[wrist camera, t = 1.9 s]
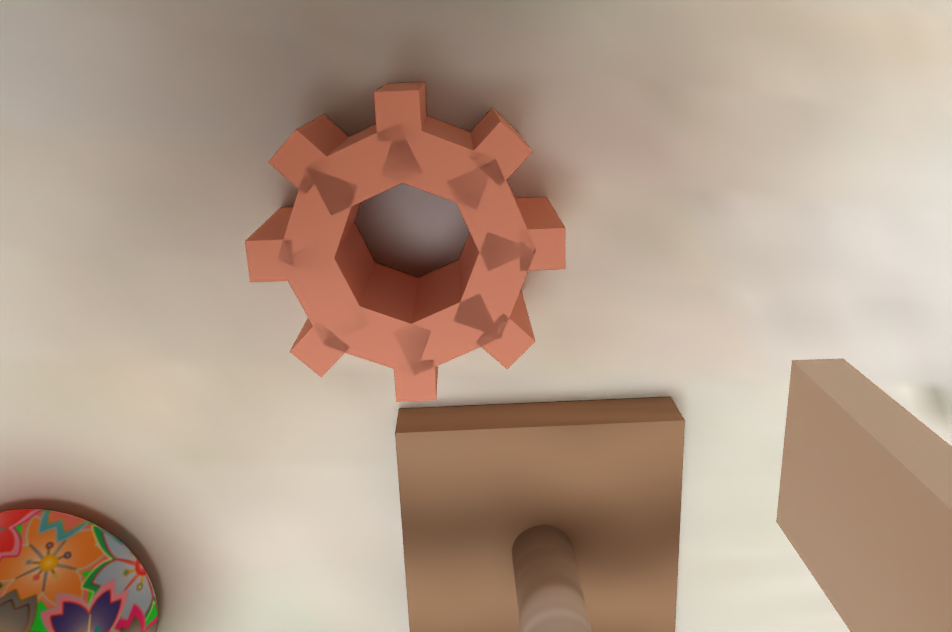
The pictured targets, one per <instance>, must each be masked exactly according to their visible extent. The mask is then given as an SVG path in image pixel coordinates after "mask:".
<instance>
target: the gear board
mask: <svg viewBox="0 0 952 632" xmlns="http://www.w3.org/2000/svg"><path fill="white" fill-rule="evenodd" d="M684 426H685V420H684V418H683V417H682V415H681V413H680V412H679V410H678V408H677V407H676V405H675V404H674V402H673V400H672V399H671V397H658V398H635V399H612V400H589V401H567V402H544V403H521V404H498V405H475V406H453V407H430V408H407V409H399V412H398V418H397V425H396V432H395V437H396V450H397V464H398V477H399V491H400V504H401V518H402V531H403V545H404V558H405V572H406V586H407V599H408V613H409V626H410V632H675V619H676V598H677V577H678V555H679V534H680V512H681V491H682V469H683V448H684Z"/></svg>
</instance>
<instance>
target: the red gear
mask: <svg viewBox="0 0 952 632" xmlns="http://www.w3.org/2000/svg"><path fill="white" fill-rule="evenodd" d="M374 101H375V115H376V124H375V125H373V126H371V127H369V128H367V129H365V130H362V131H360V132H358V133H356V134H354V135H352V136H350V137H348V136H347V135H346V134H345V133H344V132H343V131H342V130H341V129H340V128H338V127H337V126H336V125H335V124H334V123H333V122H332V121H331V120H330V119H328V118H327V117H326V116H325V115H322V116H320V117H318V118H316V119H314V120H312V121H311V122H309V123H307V124H305V125H303V126H301V127H300V128H298V129H296V130H295V131H294V133H293V134H292V135H291V136H290V137H289V138H288V140H287V141H286V142H285V143H284V144H283V145H282V147H281V148H280V149H279V150H278V151H277V153H276V154H275V155H274V156H273V157H272V158H271V160H270V161H269V162H268V163H270V164H271V165H272V166H273V167H274V168H275V169H276V170H278V171H279V172H280V173H281V174H282V175H283V176H285V177H286V178H287V179H288V180H289V181H290V182H291V183H293V184H294V185H295V186H296V187H297V188H298V189H299V190H298V193H297V197H296V200H295V203H294V206H293V207H284V208H280V209H279V210H278V211H276V212H275V213H274V214H273V215H272V216H271V217H270V218H269V219H268V220H267V221H266V222H265V223H264V224H263V225H262V226H261V227H260V228H258V229H257V230H256V231H255V232H254V233H253V234H252V235H251V236H250V237H249V238H248V239H247V240H246V241H245V244H246V252H247V260H248V268H249V276H250V282H270V281H288V282H289V284H290V286H291V287H292V289H293V291H294V293H295V295H296V296H297V298H298V300H299V302H300V304H301V305H302V307H303V309H304V311H305V313H306V314H307V316H308V319H307V320H306V322H305V324H304V326H303V328H302V330H301V332H300V334H299V335H298V337H297V339H296V341H295V343H294V345H293V347H292V349H291V350H290V352H291V353H292V354H293V355H294V356H296V357H297V358H298V359H299V360H301V361H302V362H303V363H304V364H306V365H307V366H308V367H309V368H311V369H312V370H313V371H314V372H315V373H317V374H318V375H319V376H320V377H322V376H323V375H324V374H325V373H326V372H327V371H328V370H329V369H330V368H331V367H332V366H333V365H334V363H335V362H336V361H337V360H338V359H339V358H340V357H341V356H342V355H343V354H344V353H348V354H351V355H354V356H357V357H360V358H363V359H366V360H369V361H372V362H375V363H378V364H381V365H384V366H387V367H390V368H393V369H394V377H395V390H396V402H403V401H426V400H436V396H437V375H438V365H440V364H442V363H445V362H447V361H449V360H452V359H454V358H456V357H458V356H461V355H463V354H465V353H468V352H470V351H472V350H474V349H477V348H479V347H482V348H483V349H484V350H486V351H487V352H488V353H489V354H490V355H491V356H492V357H494V358H495V359H496V360H497V361H498V362H499V363H501V364H502V365H503V366H504V367H505V368H506V369H508V368H509V367H510V366H511V365H512V364H513V363H514V362H515V361H516V360H517V359H518V358H519V357H520V356H521V355H522V354H523V353H524V352H525V351H526V350H527V349H528V348H529V347H530V346H531V345H532V344H533V343H534V342H535V338H534V335H533V331H532V327H531V324H530V320H529V316H528V313H527V309H526V305H525V302H524V298H523V294H522V292H521V291H520V290H521V287H522V285H523V282H524V280H525V277H526V275H527V272H528V271H532V270H556V269H565V227H564V225H563V223H562V222H561V220H560V218H559V217H558V215H557V213H556V212H555V210H554V208H553V207H552V205H551V203H550V202H549V200H548V198H547V197H529V198H515V197H514V195H513V192H512V190H511V188H510V186H509V183H508V181H507V179H508V177H509V176H510V175H511V174H512V173H513V172H514V171H515V170H516V169H517V168H518V167H519V166H520V165H521V164H522V163H523V161H524V160H525V159H526V158H527V157H528V156H529V155H530V154H531V153H532V150H531V149H530V148H529V146H528V145H527V144H526V142H525V141H524V139H523V138H522V137H521V135H520V134H519V133H518V132H517V131H516V130H515V129H514V128H513V127H512V126H511V125H510V124H509V123H508V122H507V121H506V120H505V119H504V118H503V117H502V116H501V115H500V114H499V113H497V112H496V111H495V110H494V109H493V108H492V109H491V110H490V111H489V112H488V113H487V114H486V115H485V117H484V118H483V119H482V120H481V121H480V122H479V123H478V124H477V125H476V126H475V128H474V129H473V130H472V131H471V132H469V131H466V130H463V129H461V128H458V127H455V126H453V125H450V124H447V123H445V122H442V121H439V120H437V119H434V118H432V117H429V116H427V108H426V90H425V82H411V83H388V84H386V85H385V86H383V87H381V88H380V89H378V90H376V91H375V92H374ZM401 183H404V184H407V185H410V186H413V187H415V188H418V189H421V190H424V191H426V192H429V193H432V194H435V195H437V196H440V197H443V198H446V199H448V200H451V201H454V202H456V203H457V206H458V208H459V210H460V212H461V214H462V216H463V218H464V220H465V223H466V225H467V227H468V229H469V231H470V232H469V235H468V238H467V240H466V243H465V246H464V248H463V251H462V254H461V256H460V259H459V260H457V261H455V262H452V263H450V264H448V265H446V266H444V267H441V268H439V269H437V270H435V271H432V272H430V273H428V274H426V275H424V276H421V277H419V278H417V277H414V276H412V275H409V274H406V273H403V272H400V271H397V270H394V269H391V268H389V267H386V266H383V265H380V264H377V263H375V261H374V259H373V257H372V255H371V254H370V252H369V250H368V248H367V246H366V244H365V242H364V240H363V238H362V236H361V234H360V232H359V230H358V228H357V226H356V224H355V219H356V216H357V213H358V210H359V207H360V204H361V202H362V201H364V200H366V199H369V198H371V197H373V196H375V195H377V194H379V193H381V192H384V191H386V190H388V189H390V188H392V187H394V186H396V185H399V184H401Z"/></svg>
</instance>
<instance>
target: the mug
mask: <svg viewBox="0 0 952 632" xmlns="http://www.w3.org/2000/svg"><path fill="white" fill-rule="evenodd" d="M157 622H158V607H157V600H156V595H155V592H154V588H153V585H152V583H151V581H150V578H149V576H148V575H147V573H146V571H145V569H144V568H143V566H142V565H141V563H140V562H139V560H138V559H137V558H136V557H135V555H134V554H133V553H132V552H131V551H130V550H129V549H128V548H127V547H126V546H125V545H124V544H123V543H122V542H121V541H119V540H118V539H117V538H116V537H115V536H113V535H112V534H110V533H109V532H107V531H106V530H104V529H102V528H101V527H99V526H97V525H95V524H93V523H91V522H89V521H87V520H84V519H82V518H79V517H76V516H73V515H70V514H66V513H62V512H57V511H51V510H43V509H17V510H9V511H4V512H0V632H156V628H157Z"/></svg>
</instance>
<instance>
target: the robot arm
mask: <svg viewBox="0 0 952 632" xmlns="http://www.w3.org/2000/svg"><path fill="white" fill-rule="evenodd" d="M776 522H777V523H778V525H779V526H780V528H781V529H782V531H783V532H784V534H785V535H786V537H787V538H788V540H789V541H790V542H791V544H792V545H793V547H794V548H795V550H796V551H797V553H798V554H799V556H800V557H801V559H802V560H803V562H804V563H805V565H806V566H807V568H808V569H809V571H810V572H811V574H812V575H813V577H814V578H815V580H816V581H817V582H818V584H819V585H820V587H821V588H822V590H823V591H824V593H825V594H826V596H827V597H828V599H829V600H830V602H831V603H832V605H833V606H834V608H835V609H836V611H837V612H838V614H839V615H840V617H841V618H842V620H843V621H844V622H845V624H846V625H847V627H848V628H849V630H850V631H851V632H952V446H950V445H949V444H948V443H947V442H945V441H944V440H943V439H942V438H940V437H939V436H938V435H937V434H936V433H934V432H933V431H932V430H931V429H929V428H928V427H927V426H926V425H924V424H923V423H922V422H921V421H919V420H918V419H917V418H916V417H915V416H913V415H912V414H911V413H910V412H908V411H907V410H906V409H905V408H903V407H902V406H901V405H900V404H898V403H897V402H896V401H895V400H894V399H892V398H891V397H890V396H889V395H887V394H886V393H885V392H884V391H882V390H881V389H880V388H879V387H877V386H876V385H875V384H874V383H873V382H871V381H870V380H869V379H868V378H866V377H865V376H864V375H863V374H861V373H860V372H859V371H858V370H857V369H855V368H854V367H853V366H852V365H850V364H849V363H848V362H847V361H845V360H844V359H817V360H792V366H791V376H790V387H789V397H788V407H787V417H786V428H785V438H784V448H783V459H782V469H781V479H780V489H779V500H778V510H777V520H776Z"/></svg>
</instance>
